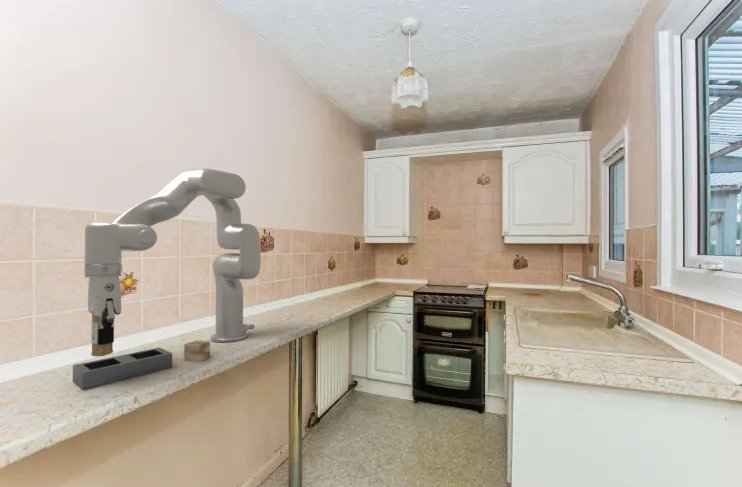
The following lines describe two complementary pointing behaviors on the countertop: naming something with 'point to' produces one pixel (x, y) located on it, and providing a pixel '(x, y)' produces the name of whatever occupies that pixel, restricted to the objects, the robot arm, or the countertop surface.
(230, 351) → the countertop surface
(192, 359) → the block
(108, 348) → the sprinkles bottle
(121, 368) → the grey compartment tray
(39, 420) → the countertop surface
